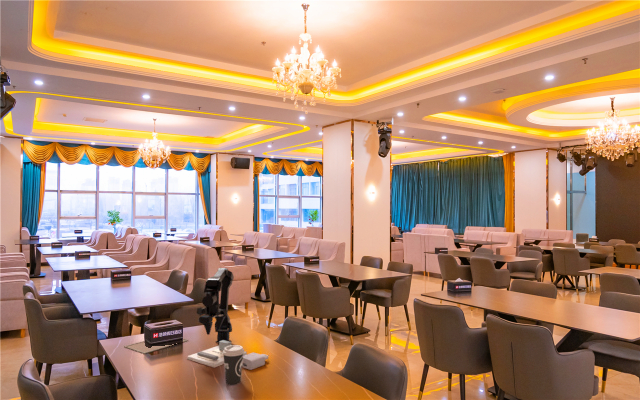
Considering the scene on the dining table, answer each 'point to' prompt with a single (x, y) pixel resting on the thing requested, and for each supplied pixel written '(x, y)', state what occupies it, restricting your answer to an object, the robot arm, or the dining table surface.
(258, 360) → the charger
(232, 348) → the coffee cup
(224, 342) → the cream plate grey block
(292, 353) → the dining table surface
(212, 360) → the board
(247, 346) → the dining table surface
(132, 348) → the picture frame
